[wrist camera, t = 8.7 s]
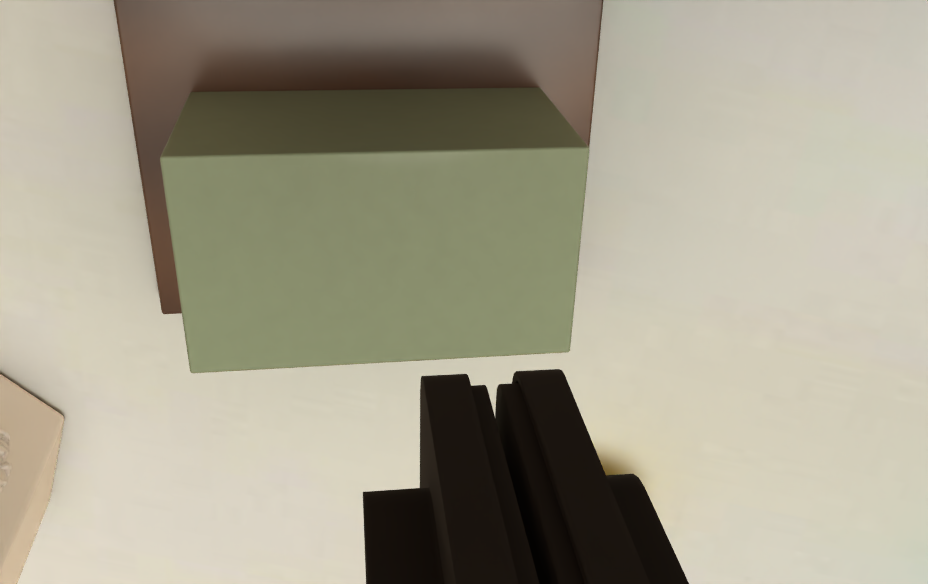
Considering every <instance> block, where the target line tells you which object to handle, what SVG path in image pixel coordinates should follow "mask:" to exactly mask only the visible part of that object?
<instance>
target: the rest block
mask: <svg viewBox="0 0 928 584" xmlns="http://www.w3.org/2000/svg"><path fill="white" fill-rule="evenodd" d="M588 158H589V147H588V145H587V144H586V143H585V142H584V140H583V139H582V138H581V137H580V136H579V134H578V133H577V132H576V131H575V129H574V128H573V127H572V126H571V125H570V123H569V122H568V121H567V120H566V118H565V117H564V116H563V115H562V114H561V112H560V111H559V110H558V109H557V107H556V106H555V105H554V104H553V103H552V101H551V100H550V99H549V98H548V96H547V95H546V94H545V93H544V92H543V90H542V89H541V88H464V89H386V90H309V91H231V92H191V93H190V94H189V96H188V98H187V101H186V103H185V105H184V107H183V109H182V111H181V114H180V116H179V118H178V120H177V122H176V124H175V127H174V129H173V131H172V133H171V135H170V137H169V139H168V142H167V144H166V146H165V148H164V150H163V152H162V155H161V157H160V162H161V169H162V177H163V184H164V191H165V198H166V205H167V212H168V219H169V226H170V233H171V240H172V247H173V254H174V261H175V268H176V275H177V282H178V289H179V296H180V303H181V310H182V317H183V324H184V331H185V338H186V345H187V352H188V359H189V366H190V371H191V373H204V372H222V371H240V370H258V369H276V368H294V367H311V366H329V365H347V364H365V363H383V362H401V361H419V360H437V359H455V358H473V357H491V356H509V355H527V354H545V353H562V352H569V351H570V343H571V333H572V323H573V312H574V302H575V292H576V281H577V271H578V261H579V250H580V240H581V230H582V220H583V209H584V199H585V189H586V178H587V168H588Z"/></svg>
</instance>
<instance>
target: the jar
mask: <svg viewBox="0 0 928 584" xmlns="http://www.w3.org/2000/svg"><path fill="white" fill-rule="evenodd" d="M63 424H64V417H63V416H62V415H61V414H60V413H58V412H57V411H55V410H54V409H52V408H51V407H49V406H48V405H46V404H45V403H43V402H42V401H40V400H39V399H37V398H36V397H34V396H33V395H31V394H30V393H28V392H27V391H25V390H24V389H22V388H21V387H19V386H18V385H16V384H15V383H13V382H12V381H10V380H9V379H7V378H6V377H4V376H3V375H1V374H0V584H17V583H18V580H19V578H20V575H21V572H22V570H23V567H24V565H25V562H26V560H27V557H28V555H29V552H30V549H31V547H32V544H33V542H34V539H35V537H36V534H37V532H38V529H39V526H40V524H41V521H42V519H43V516H44V514H45V511H46V509H47V506H48V504H49V501H50V497H51V491H52V485H53V480H54V474H55V469H56V463H57V458H58V452H59V447H60V441H61V435H62V430H63Z"/></svg>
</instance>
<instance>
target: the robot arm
mask: <svg viewBox="0 0 928 584" xmlns="http://www.w3.org/2000/svg"><path fill="white" fill-rule="evenodd" d="M363 508H364V537H365V563H366V584H689V583H688V581H687V579H686V576H685V574H684V572H683V570H682V568H681V566H680V563H679V561H678V559H677V557H676V555H675V553H674V550H673V548H672V546H671V544H670V542H669V539H668V537H667V535H666V533H665V531H664V529H663V526H662V524H661V522H660V520H659V518H658V516H657V513H656V511H655V509H654V507H653V505H652V503H651V500H650V498H649V496H648V494H647V492H646V490H645V487H644V486H643V484H642V482H641V481H640V479H639V478H638V477H637V476H636V475H634V474H624V475H609V476H606V475H605V472H604V470H603V467H602V465H601V462H600V460H599V458H598V455H597V453H596V450H595V448H594V445H593V443H592V441H591V438H590V436H589V433H588V431H587V428H586V426H585V424H584V421H583V419H582V416H581V414H580V411H579V409H578V407H577V404H576V402H575V399H574V397H573V394H572V392H571V389H570V387H569V385H568V382H567V380H566V377H565V375H564V373H563V371H562V370H560V369H554V370H535V371H516V372H515V373H514V376H513V381H512V384H499V385H498V388H497V396H496V414H495V416H494V412H493V409H492V405H491V401H490V398H489V394H488V390H487V387H486V386H485V385H478V386H471V384H470V380H469V377H468V375H467V374H456V375H437V376H422V377H421V389H420V488H416V489H401V490H386V491H372V492H363Z"/></svg>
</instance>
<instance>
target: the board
mask: <svg viewBox="0 0 928 584" xmlns="http://www.w3.org/2000/svg"><path fill="white" fill-rule="evenodd" d="M114 6H115V12H116V19H117V25H118V32H119V38H120V44H121V51H122V57H123V64H124V70H125V77H126V83H127V90H128V96H129V103H130V109H131V116H132V122H133V128H134V135H135V141H136V148H137V154H138V161H139V167H140V174H141V180H142V187H143V193H144V200H145V206H146V213H147V219H148V225H149V232H150V238H151V245H152V251H153V258H154V264H155V271H156V277H157V284H158V290H159V297H160V303H161V310H162V313H163V314H176V313H182V310H181V303H180V296H179V289H178V282H177V275H176V268H175V261H174V254H173V247H172V240H171V233H170V226H169V219H168V212H167V205H166V198H165V191H164V184H163V177H162V169H161V162H160V157H161V155H162V152H163V150H164V148H165V146H166V144H167V142H168V139H169V137H170V135H171V133H172V131H173V129H174V127H175V124H176V122H177V120H178V118H179V116H180V114H181V111H182V109H183V107H184V105H185V103H186V101H187V98H188V96H189V94H190V93H191V92H231V91H309V90H386V89H464V88H541V89H542V90H543V92H544V93H545V94H546V95H547V96H548V98H549V99H550V100H551V101H552V103H553V104H554V105H555V106H556V107H557V109H558V110H559V111H560V112H561V114H562V115H563V116H564V117H565V118H566V120H567V121H568V122H569V123H570V125H571V126H572V127H573V128H574V129H575V131H576V132H577V133H578V134H579V136H580V137H581V138H582V139H583V140H584V142H585V143H586V144H587V145H588V147H589V143H590V133H591V123H592V112H593V102H594V92H595V81H596V71H597V61H598V50H599V40H600V30H601V19H602V9H603V0H114Z"/></svg>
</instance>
